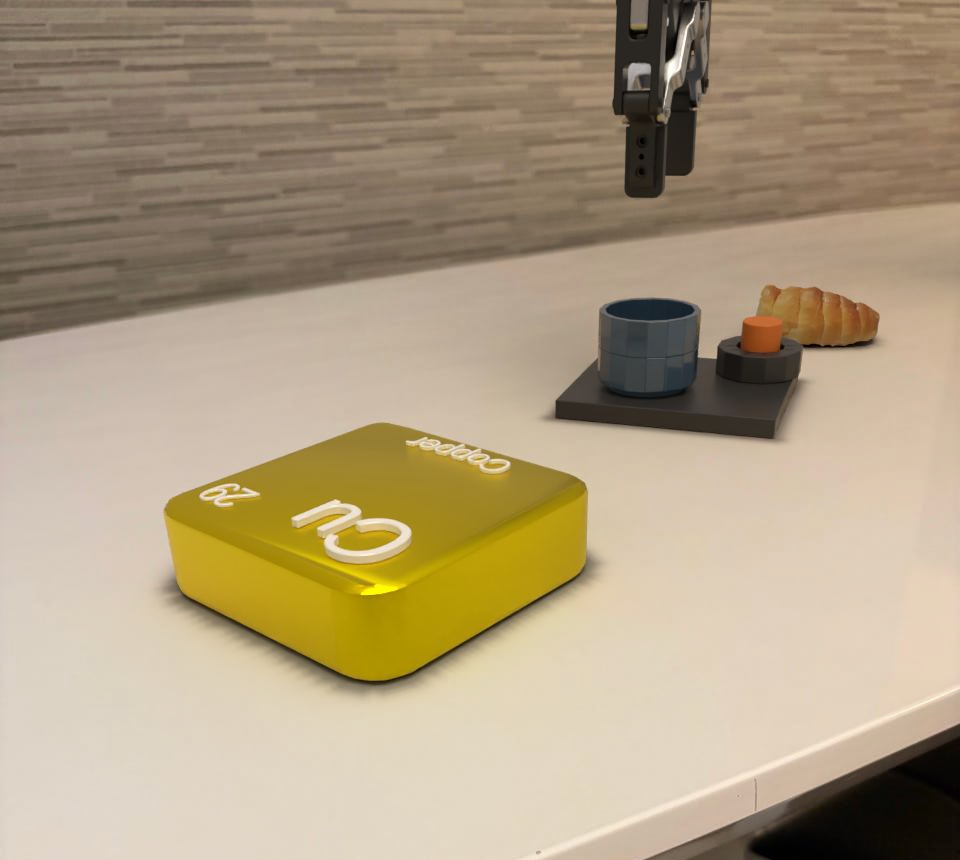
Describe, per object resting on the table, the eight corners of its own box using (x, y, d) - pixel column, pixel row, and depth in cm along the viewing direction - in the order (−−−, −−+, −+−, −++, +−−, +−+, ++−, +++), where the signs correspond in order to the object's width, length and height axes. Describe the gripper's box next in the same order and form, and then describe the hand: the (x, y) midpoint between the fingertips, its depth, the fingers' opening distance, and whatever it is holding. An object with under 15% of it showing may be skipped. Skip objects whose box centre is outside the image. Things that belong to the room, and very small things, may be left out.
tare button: (782, 347, 74) (785, 317, 73) (776, 357, 72) (780, 326, 71) (743, 344, 74) (746, 314, 73) (737, 355, 72) (740, 324, 71)
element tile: (603, 564, 52) (606, 470, 50) (377, 697, 42) (368, 589, 40) (387, 490, 61) (381, 407, 58) (160, 587, 51) (141, 493, 49)
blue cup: (703, 375, 73) (709, 300, 71) (683, 404, 68) (689, 324, 66) (612, 368, 76) (614, 295, 73) (586, 395, 70) (588, 318, 68)
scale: (801, 380, 76) (807, 337, 74) (777, 439, 66) (783, 391, 64) (604, 365, 80) (605, 324, 79) (554, 418, 70) (555, 372, 69)
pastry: (877, 329, 86) (884, 280, 84) (875, 353, 81) (883, 301, 79) (757, 323, 89) (761, 276, 87) (747, 346, 84) (752, 296, 82)
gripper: (636, -126, 64) (628, 169, 72) (567, -150, 53) (567, 204, 61) (765, -137, 62) (741, 170, 70) (722, -164, 50) (699, 206, 59)
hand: (660, 185), depth 66 cm, fingers open, 8 cm apart
